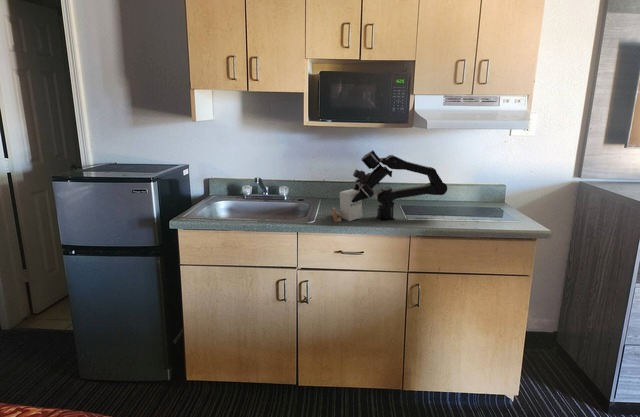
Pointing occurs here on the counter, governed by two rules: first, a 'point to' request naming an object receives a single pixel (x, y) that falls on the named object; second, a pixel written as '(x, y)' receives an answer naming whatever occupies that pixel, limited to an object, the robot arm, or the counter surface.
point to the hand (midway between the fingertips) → (350, 199)
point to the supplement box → (350, 205)
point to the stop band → (336, 216)
